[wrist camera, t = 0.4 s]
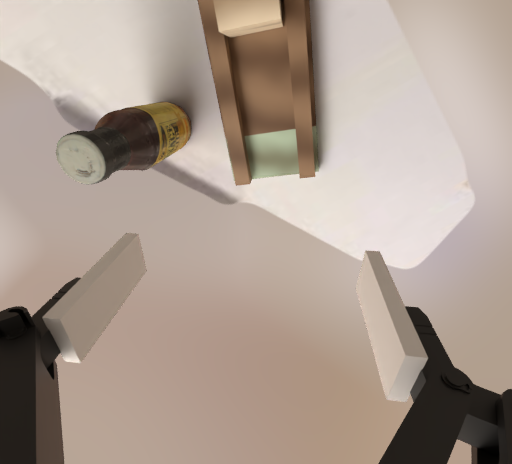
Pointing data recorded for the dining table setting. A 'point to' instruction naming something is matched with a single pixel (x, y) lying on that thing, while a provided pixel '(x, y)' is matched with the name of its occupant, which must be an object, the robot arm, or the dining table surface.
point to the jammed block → (247, 16)
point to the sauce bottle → (124, 142)
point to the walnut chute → (266, 94)
